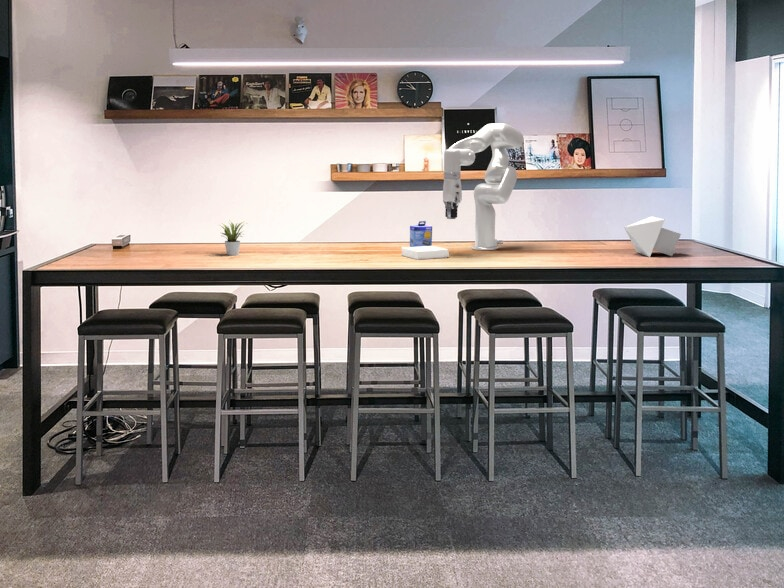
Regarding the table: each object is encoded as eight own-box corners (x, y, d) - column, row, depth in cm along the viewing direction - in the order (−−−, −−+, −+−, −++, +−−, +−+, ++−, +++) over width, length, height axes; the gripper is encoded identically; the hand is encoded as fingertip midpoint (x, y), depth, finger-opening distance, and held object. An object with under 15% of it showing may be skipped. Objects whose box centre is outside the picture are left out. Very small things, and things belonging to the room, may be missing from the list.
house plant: (254, 252, 379) (253, 218, 376) (246, 256, 365) (245, 220, 362) (225, 252, 380) (224, 217, 377) (216, 256, 367) (214, 220, 364)
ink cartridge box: (414, 252, 380) (414, 221, 377) (408, 251, 385) (409, 220, 382) (432, 251, 384) (432, 220, 381) (427, 249, 389) (427, 220, 386)
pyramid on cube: (611, 243, 377) (625, 207, 375) (658, 259, 380) (672, 223, 377) (622, 248, 361) (637, 209, 358) (671, 264, 363) (686, 227, 360)
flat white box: (432, 253, 376) (432, 245, 375) (448, 257, 361) (448, 249, 361) (401, 255, 369) (401, 247, 368) (417, 259, 355) (417, 251, 354)
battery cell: (452, 218, 370) (453, 201, 369) (457, 218, 367) (457, 202, 365) (445, 218, 369) (445, 201, 367) (449, 219, 365) (449, 202, 364)
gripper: (468, 177, 359) (467, 218, 362) (450, 176, 373) (449, 215, 377) (454, 177, 355) (453, 218, 358) (435, 176, 370) (435, 216, 373)
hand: (451, 216), depth 367 cm, fingers closed on battery cell, 4 cm apart
